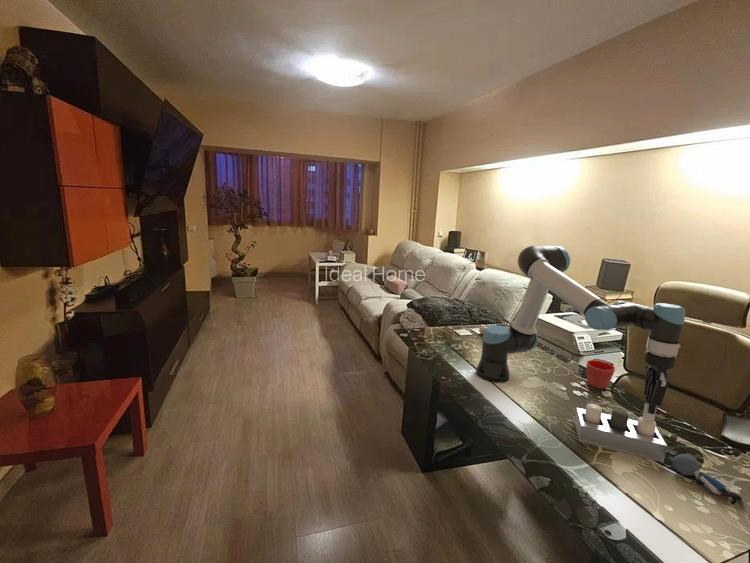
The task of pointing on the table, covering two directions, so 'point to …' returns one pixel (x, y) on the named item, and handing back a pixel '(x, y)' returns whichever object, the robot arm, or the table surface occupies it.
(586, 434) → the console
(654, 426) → the knob
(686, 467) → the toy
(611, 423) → the knob mid
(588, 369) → the flower pot
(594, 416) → the knob
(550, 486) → the table surface
